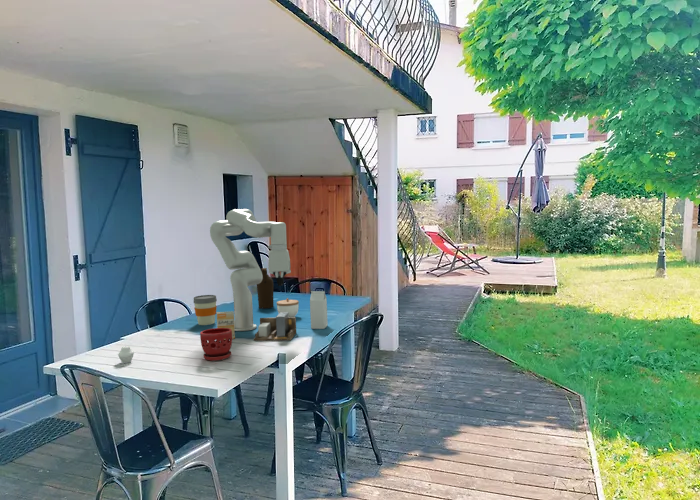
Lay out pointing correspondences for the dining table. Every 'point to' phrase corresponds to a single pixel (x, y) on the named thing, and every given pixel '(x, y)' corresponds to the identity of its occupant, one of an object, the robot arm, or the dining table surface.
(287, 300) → the lidded bowl
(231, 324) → the supplement box
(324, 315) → the milk carton
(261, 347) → the dining table surface
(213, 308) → the reusable coffee cup
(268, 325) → the rack
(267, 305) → the olive oil
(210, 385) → the dining table surface
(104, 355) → the dining table surface
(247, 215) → the robot arm
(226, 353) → the plant pot
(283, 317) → the panel
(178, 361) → the dining table surface
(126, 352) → the white faceted vase
